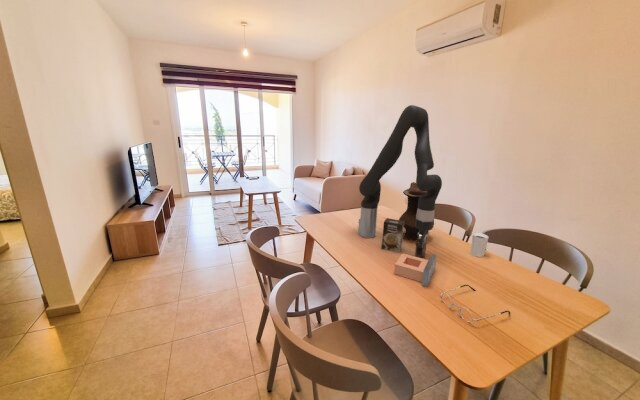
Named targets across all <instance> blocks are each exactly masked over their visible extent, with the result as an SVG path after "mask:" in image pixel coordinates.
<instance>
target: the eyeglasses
mask: <svg viewBox="0 0 640 400" xmlns="http://www.w3.org/2000/svg"><path fill="white" fill-rule="evenodd" d="M467 286H468V287H469V288H470V289H471V290H472V291H473V292H476V291H477V290H476V289H475V288H473V286H471V285H469V284H464V285H460V286H459V287H455V288H452V289H449V290H447V291H445V292H442V293H440V297H441V300H442V302H443V304H445V305H446V302H445V300H444V297H443V296H444V294H445V295H447V296H448V298H449V300H450V303H451V304H450V306H449V305H448V306H447V307H448V308H449V309H452V308H454V307H455V306H457V311H458V315H459V317H460V318H462V319H463V320H464V319H465V318H464V317H463V316H462V308H463V309H465V310H467V311H468V312H469V313H470V315H471V321H470V323H472V322H473V321H474V322H478V321H481V320H485V319H488V318H491V317H495V316H498V315H503V314H506V313H508V314H510V313H511V312H510V310H505V311H502V312H499V313H497V314H492V315H488V316H486V317H482V318H478V319H475V318H474V316H473V313H472V312H471V311H470V310H469V309H468V308H467V307H464V306H461V307H460V305H458V304H456V303H455V302H454V301H452V298H451V296H450V295H449V294H448V293H449V292H452V291H454V290H455V291H456V290H457V289H459V288H460V289H461V288H463V287H467ZM466 322H467V323H469V321H468V320H467V321H466Z"/></svg>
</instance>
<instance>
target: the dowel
mask: <svg viewBox="0 0 640 400" xmlns="http://www.w3.org/2000/svg"><path fill="white" fill-rule="evenodd" d="M427 242H428V238H427V237H426V240H425V243H423V248H422V254H421V255H419V254H417V247H416V246H415V252H414V256H415V257H419V258H423V259H426V251H427V244H428V243H427ZM419 244H421V243H420V242H419Z"/></svg>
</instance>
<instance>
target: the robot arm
mask: <svg viewBox="0 0 640 400" xmlns="http://www.w3.org/2000/svg"><path fill="white" fill-rule="evenodd" d="M429 122H430V121H429V113H428V111H427V110H426V109H425V108H423V107H420V106H417V105H413V104H411V105H407V106H406V107H405V108H404V110H402V112H401V114H400V116H399V118H398V120H397V123H396V124H395V127H394V128H393V130H392V132H391V134H390V135H389V138H388V139H387V142H386V143H385V144H384V146H383V147H382V149H381V150H380V152H379V154H378V156H377V157H376V159H375V161H374V163H373V164H372V166H371V168H370V169H369V171H368V172H367V174H365V176H364V178H363V179H362V180H361V182H360V184H359V188H358V189H359V193H360V195H361V196H364V198H363V199H362V200H361V202H360V215H359V216H360V218H359V219H358V227H357V228H358V229H357V231H358V232H357V233H358V234H357V235H358V236H360V237H363V238H367V239H370V238H372V239H373V238H375V237H376V233H377V220H378V219H377V218H378V206H379V202H380V199H381V189H382V185H381V182H380V180H381V179H382V178H383V176H385V174H387V173H388V172H389V170H391V169H392V167H394V166H395V164H396V163H397V162H398V160H399V158H400V157H401V155H402V151H403V144H404V140H405V137H406V135H407V134H408V132H409V130H410V129H411V128H413V130H414V132H415V134H416V142H415V146H414V157H415V158H414V160H415V163H416V164H415V165H416V176H415V177H416V178H415V179H416V180H415V183H416V185H417V187H418V189H419V190H420V191H427V193H426V194H424V195H422V196H420V197H419V201H418V209H417V214H416V224H415V227H416V228H418V229H419V232H418V235H417V240H416V242H415V248H416V247H417V254H419V255H421V254H422V248H423V243H425V240H426V237H427V239H428V238H429V231H431V230H432V229H433V228H434V225H433V222H434V221H435V220H434V219H435V209H436V201H437V198H438V197H439V194H440V191H441V189H442V186H443V182H442V177H441V176H440V175H439V174H428V171H430V170H433V168H434V166H435V163H434V159H433V158H434V157H433V154H432V149H431V141H430V125H429V124H430V123H429ZM434 223H435V222H434ZM419 242H420V243H421V244H419Z"/></svg>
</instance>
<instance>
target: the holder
mask: <svg viewBox="0 0 640 400" xmlns="http://www.w3.org/2000/svg"><path fill="white" fill-rule="evenodd" d="M428 260H429V259H426V258H424V259H423V258H419V257H415V255H410V254H406V253H402V254H401V255H400V256H399V258H398V259H397V261H396V262H395V264H394V271H393V274H394V275H397V276H399V277H403V278H407V279H411V280H413V281H417V282H420V283H422V280H423V272H424V269H425V267H426V264H427V262H428Z"/></svg>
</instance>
